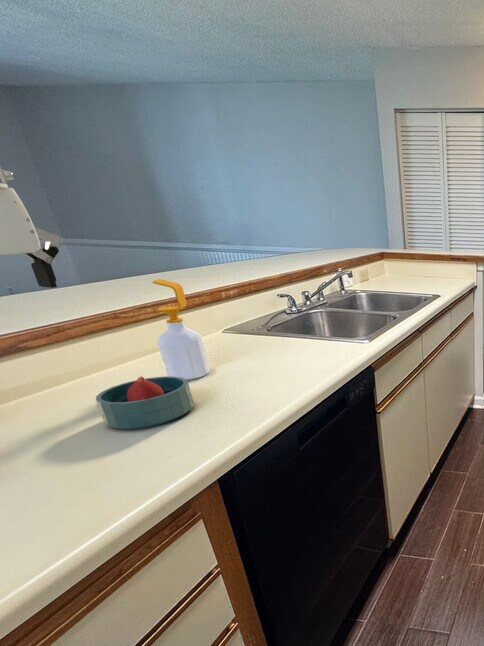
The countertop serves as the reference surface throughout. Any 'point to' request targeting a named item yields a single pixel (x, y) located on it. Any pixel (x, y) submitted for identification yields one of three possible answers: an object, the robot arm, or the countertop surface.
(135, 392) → the onion
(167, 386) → the bowl
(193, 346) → the soap bottle
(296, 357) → the countertop surface
